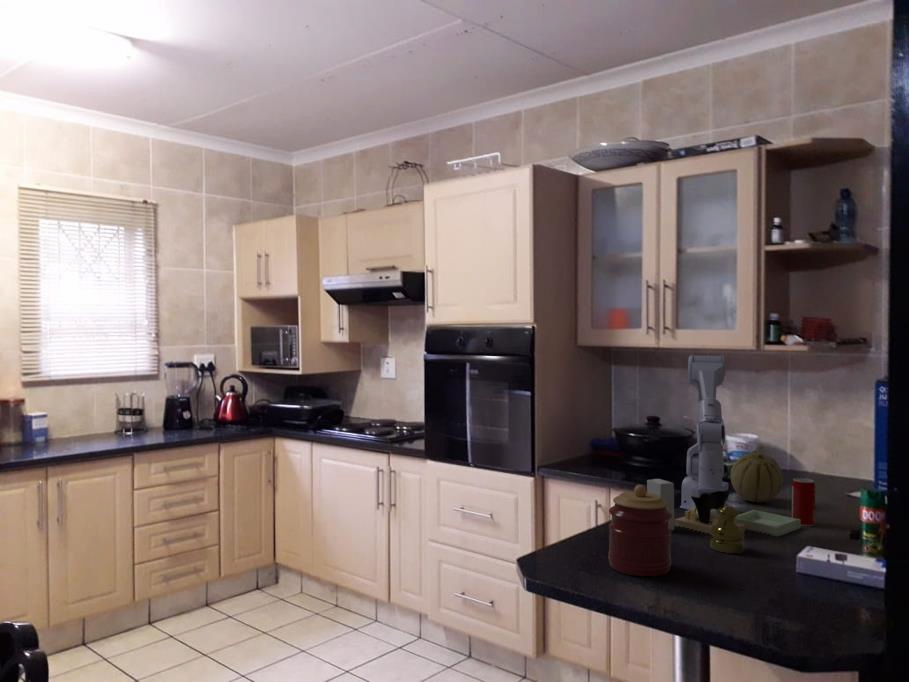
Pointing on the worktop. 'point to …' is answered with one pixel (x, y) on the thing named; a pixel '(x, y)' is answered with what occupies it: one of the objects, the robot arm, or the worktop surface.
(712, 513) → the fuse
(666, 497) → the skincare box
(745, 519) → the parts tray
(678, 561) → the worktop surface
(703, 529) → the fuse holder
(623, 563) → the canister
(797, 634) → the worktop surface
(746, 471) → the ribbed pale melon
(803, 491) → the soda can
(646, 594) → the worktop surface
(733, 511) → the gold tiered figurine
